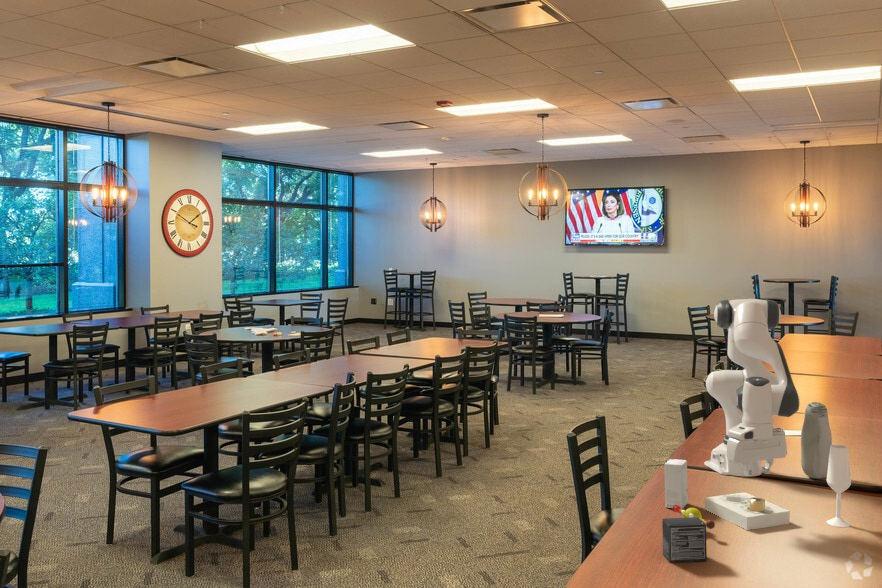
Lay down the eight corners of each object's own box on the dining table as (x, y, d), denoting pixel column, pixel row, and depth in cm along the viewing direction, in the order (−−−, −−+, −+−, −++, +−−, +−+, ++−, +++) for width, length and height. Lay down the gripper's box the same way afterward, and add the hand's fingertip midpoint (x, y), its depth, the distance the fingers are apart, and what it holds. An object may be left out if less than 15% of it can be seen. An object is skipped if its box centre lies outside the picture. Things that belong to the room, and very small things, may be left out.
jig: (704, 509, 251) (704, 497, 251) (745, 504, 256) (745, 492, 256) (746, 530, 232) (746, 517, 232) (789, 523, 237) (789, 511, 237)
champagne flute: (829, 518, 241) (829, 442, 240) (852, 522, 237) (853, 445, 236) (823, 524, 236) (824, 447, 235) (848, 528, 232) (848, 450, 230)
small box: (698, 552, 216) (698, 516, 215) (707, 562, 209) (707, 524, 209) (661, 553, 215) (661, 517, 215) (669, 563, 209) (669, 525, 208)
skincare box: (682, 510, 251) (682, 465, 250) (663, 507, 254) (663, 463, 253) (688, 503, 258) (688, 459, 257) (669, 500, 261) (669, 457, 260)
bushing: (746, 520, 241) (746, 498, 240) (757, 518, 242) (758, 496, 242) (756, 524, 236) (756, 502, 236) (767, 523, 238) (768, 501, 237)
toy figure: (666, 521, 240) (666, 500, 240) (680, 519, 242) (680, 498, 242) (704, 541, 224) (704, 518, 223) (720, 538, 226) (720, 516, 225)
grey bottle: (834, 482, 278) (835, 405, 276) (804, 481, 280) (805, 405, 278) (826, 474, 287) (827, 400, 286) (797, 473, 290) (798, 399, 288)
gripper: (777, 425, 244) (777, 468, 245) (723, 430, 238) (723, 474, 238) (792, 429, 238) (791, 473, 239) (737, 435, 232) (737, 480, 232)
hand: (757, 474), depth 238 cm, fingers open, 5 cm apart
